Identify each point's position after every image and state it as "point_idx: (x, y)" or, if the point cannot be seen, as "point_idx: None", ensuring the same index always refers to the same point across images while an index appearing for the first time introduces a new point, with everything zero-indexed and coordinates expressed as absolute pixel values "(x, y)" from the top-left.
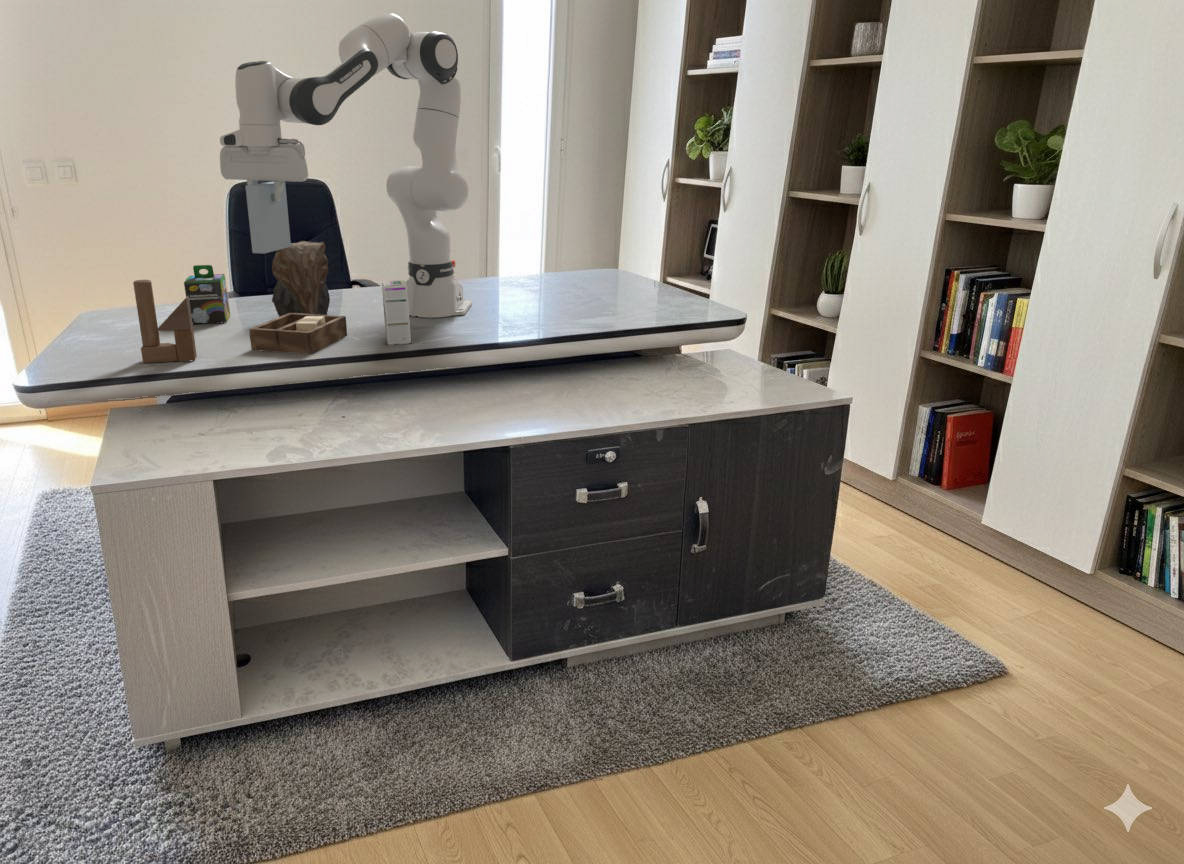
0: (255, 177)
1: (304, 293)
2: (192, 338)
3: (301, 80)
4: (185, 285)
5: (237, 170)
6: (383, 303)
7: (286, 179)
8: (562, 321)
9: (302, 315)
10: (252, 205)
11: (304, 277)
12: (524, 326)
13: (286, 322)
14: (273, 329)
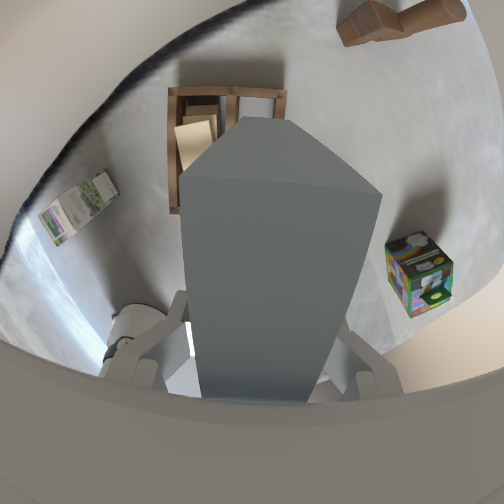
0: (325, 421)
1: None
2: (346, 22)
3: None
4: (449, 259)
5: (484, 433)
6: (86, 204)
7: (25, 359)
8: (36, 300)
9: None
10: (282, 140)
11: None
12: (44, 280)
13: None
14: (241, 94)
